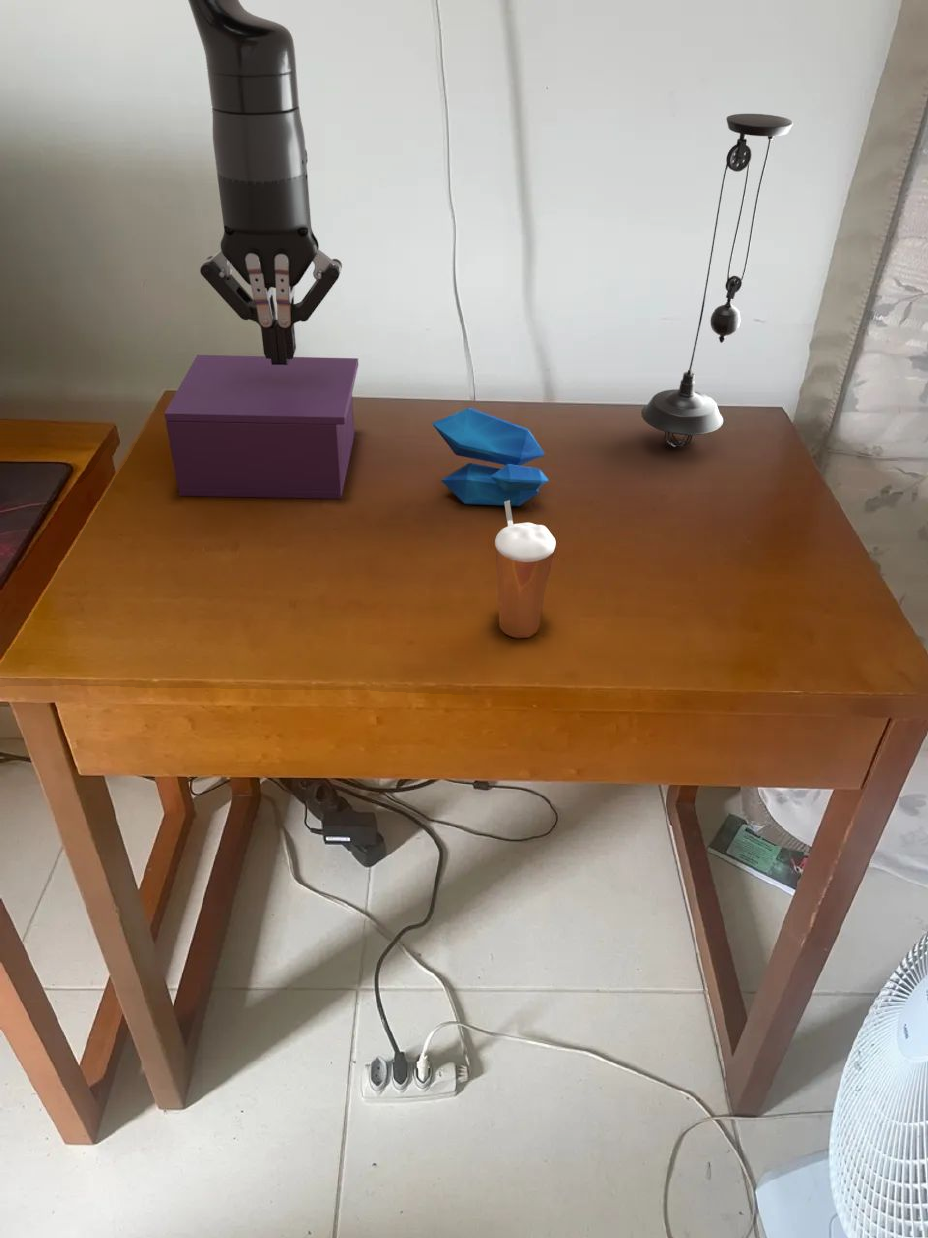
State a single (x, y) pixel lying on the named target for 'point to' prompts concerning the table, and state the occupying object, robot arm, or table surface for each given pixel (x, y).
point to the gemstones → (491, 459)
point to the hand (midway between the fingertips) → (281, 361)
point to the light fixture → (684, 405)
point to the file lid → (265, 390)
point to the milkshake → (522, 575)
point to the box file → (261, 458)
